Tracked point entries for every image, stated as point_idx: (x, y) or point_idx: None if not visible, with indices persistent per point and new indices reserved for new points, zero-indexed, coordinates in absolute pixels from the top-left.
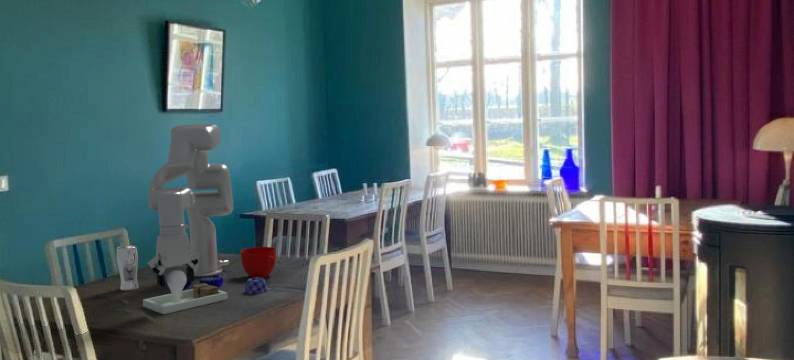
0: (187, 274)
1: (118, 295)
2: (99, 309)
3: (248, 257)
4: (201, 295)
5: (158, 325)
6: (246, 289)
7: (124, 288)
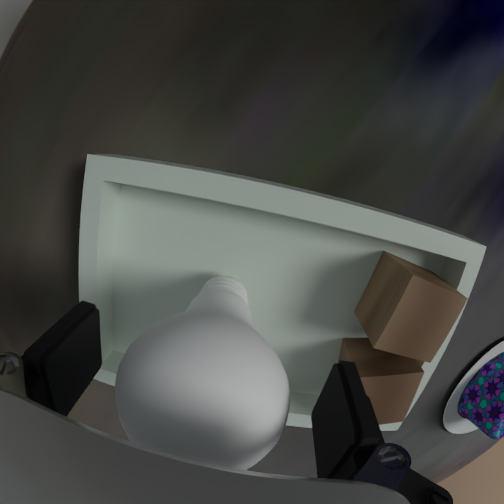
0: (336, 406)
1: None
2: (47, 7)
3: None
4: (347, 359)
5: None
6: (487, 389)
7: None
